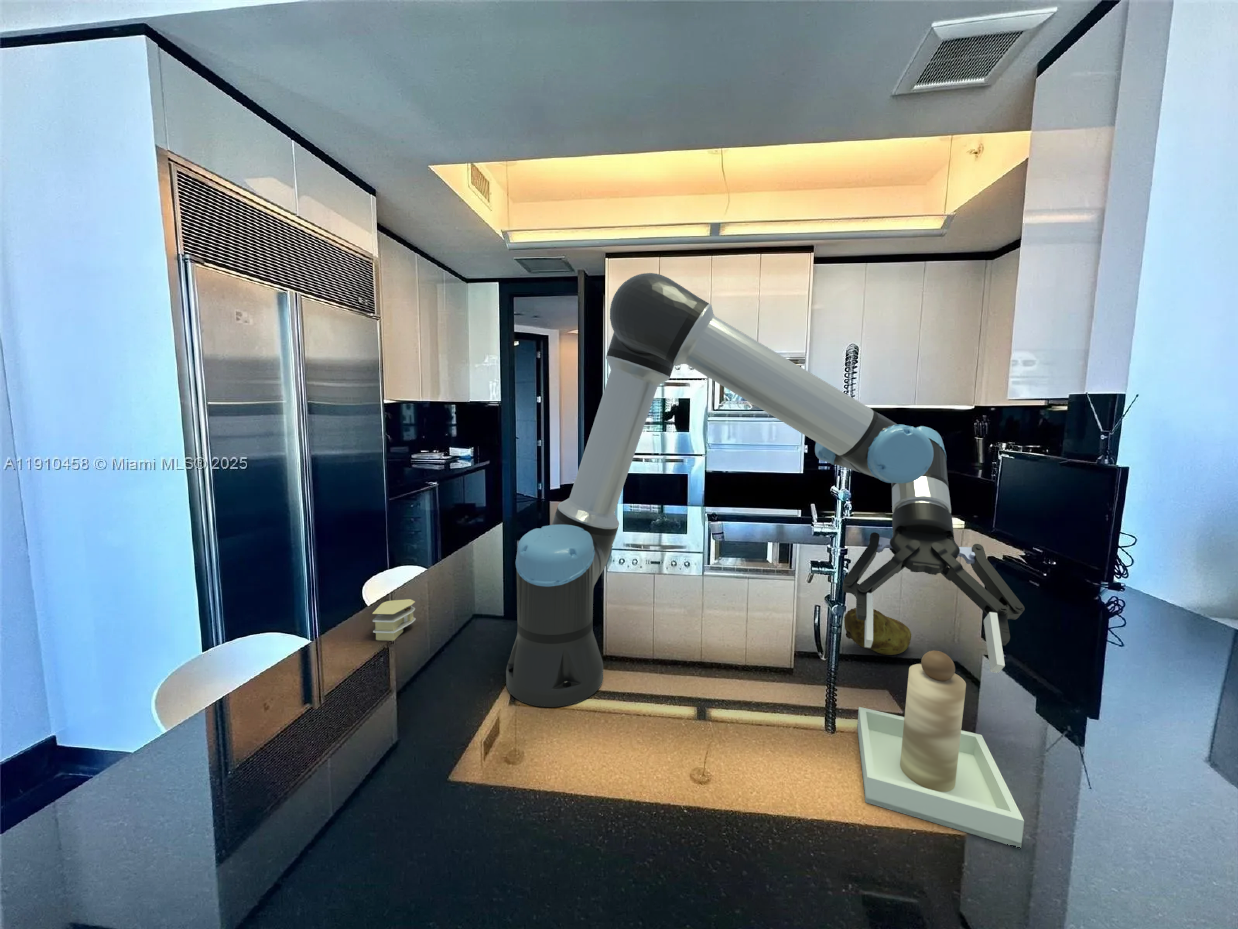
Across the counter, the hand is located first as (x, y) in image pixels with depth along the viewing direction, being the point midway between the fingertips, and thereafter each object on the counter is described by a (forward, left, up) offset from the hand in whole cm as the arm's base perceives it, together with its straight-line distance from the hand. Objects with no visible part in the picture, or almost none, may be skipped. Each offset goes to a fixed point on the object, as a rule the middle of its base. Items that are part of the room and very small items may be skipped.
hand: (930, 656), depth 59 cm
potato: (-2, +26, -13) cm, 29 cm away
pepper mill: (0, -6, -12) cm, 13 cm away
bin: (-1, -6, -12) cm, 14 cm away
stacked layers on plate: (-86, -5, -13) cm, 87 cm away
